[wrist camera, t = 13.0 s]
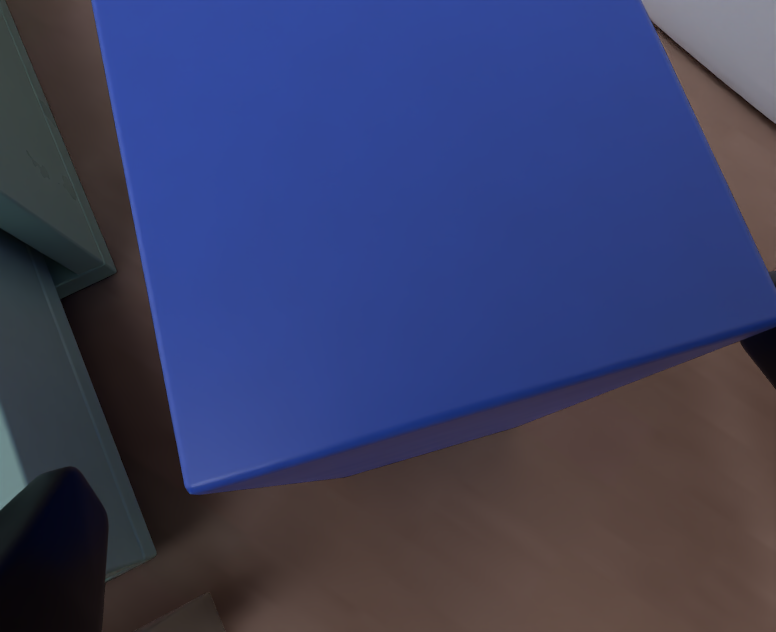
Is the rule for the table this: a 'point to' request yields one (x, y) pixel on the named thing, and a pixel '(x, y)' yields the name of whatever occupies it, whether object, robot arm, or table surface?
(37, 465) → the drawer
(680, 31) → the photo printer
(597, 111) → the carton
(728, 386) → the table surface
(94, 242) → the cabinet
